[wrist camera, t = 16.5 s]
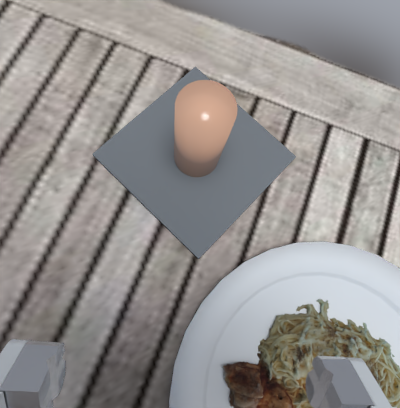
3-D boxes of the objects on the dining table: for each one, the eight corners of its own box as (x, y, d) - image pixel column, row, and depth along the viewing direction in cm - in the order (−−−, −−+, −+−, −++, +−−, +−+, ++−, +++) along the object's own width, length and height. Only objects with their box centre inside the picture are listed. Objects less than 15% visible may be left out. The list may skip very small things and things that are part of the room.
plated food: (313, 189, 35) (328, 180, 32) (522, 401, 32) (563, 415, 28) (103, 390, 29) (93, 405, 26) (334, 686, 25) (358, 747, 22)
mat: (93, 156, 34) (92, 154, 33) (195, 70, 37) (195, 66, 37) (198, 259, 32) (198, 258, 31) (294, 158, 36) (296, 156, 35)
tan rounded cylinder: (164, 155, 34) (161, 106, 24) (195, 126, 35) (205, 68, 25) (197, 186, 33) (207, 149, 24) (227, 155, 34) (250, 108, 25)
